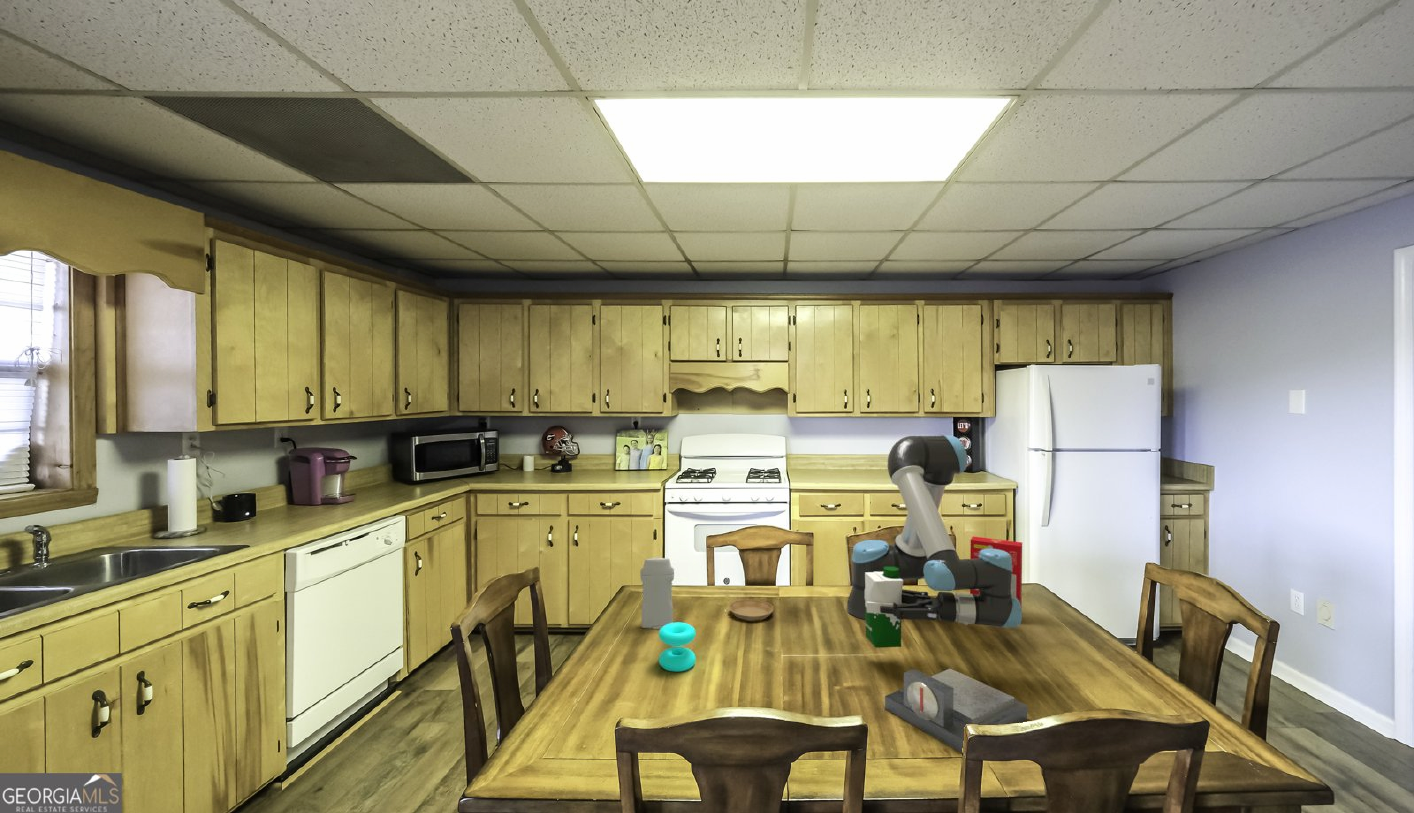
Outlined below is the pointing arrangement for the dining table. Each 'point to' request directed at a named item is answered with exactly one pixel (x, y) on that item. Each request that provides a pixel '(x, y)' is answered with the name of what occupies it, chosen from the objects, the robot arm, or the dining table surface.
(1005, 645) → the dining table surface
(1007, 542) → the food packaging
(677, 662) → the donuts
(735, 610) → the plant saucer
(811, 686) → the dining table surface
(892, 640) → the soya milk
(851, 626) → the dining table surface
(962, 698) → the scale
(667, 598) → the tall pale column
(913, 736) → the dining table surface
